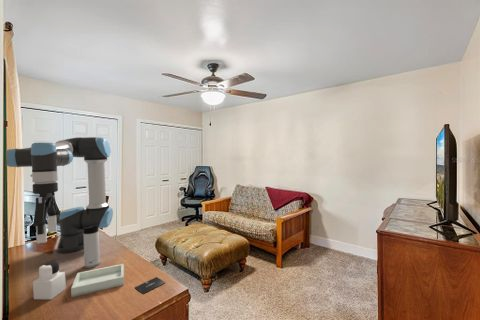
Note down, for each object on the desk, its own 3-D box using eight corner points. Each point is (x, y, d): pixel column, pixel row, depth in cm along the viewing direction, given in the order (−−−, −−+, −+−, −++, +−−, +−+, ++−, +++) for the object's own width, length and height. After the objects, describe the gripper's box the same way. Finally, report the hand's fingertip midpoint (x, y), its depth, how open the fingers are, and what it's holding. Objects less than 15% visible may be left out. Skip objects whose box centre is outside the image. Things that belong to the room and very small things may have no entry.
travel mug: (93, 269, 112) (91, 227, 111) (81, 267, 113) (79, 227, 112) (103, 262, 118) (101, 223, 117) (92, 261, 119) (90, 223, 118)
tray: (77, 280, 102) (77, 272, 101) (124, 270, 109) (123, 263, 109) (71, 297, 90) (71, 288, 90) (123, 285, 98) (123, 276, 98)
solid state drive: (134, 288, 95) (134, 287, 95) (156, 278, 103) (156, 276, 103) (143, 295, 91) (143, 293, 91) (165, 283, 99) (165, 282, 99)
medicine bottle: (49, 288, 96) (47, 259, 95) (66, 288, 96) (64, 259, 95) (33, 299, 89) (31, 268, 88) (51, 299, 89) (50, 268, 88)
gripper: (43, 180, 100) (45, 229, 101) (19, 187, 78) (22, 250, 78) (64, 178, 104) (66, 226, 104) (47, 185, 81) (50, 246, 82)
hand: (47, 236), depth 91 cm, fingers open, 13 cm apart
